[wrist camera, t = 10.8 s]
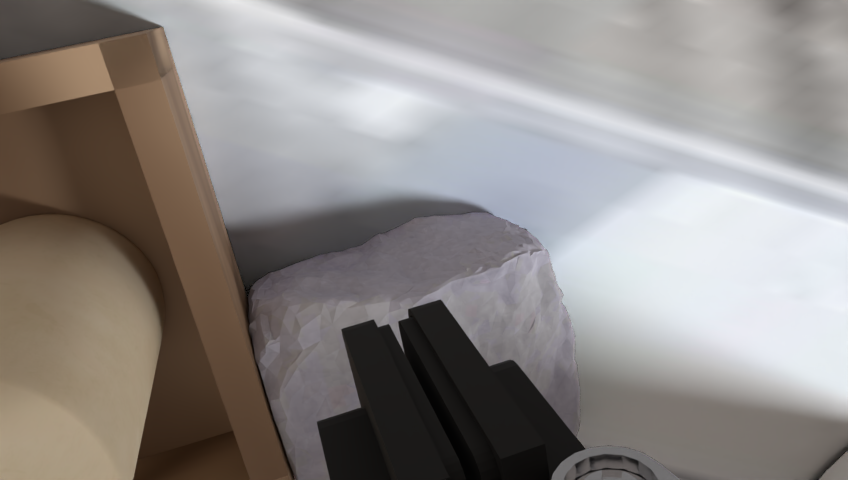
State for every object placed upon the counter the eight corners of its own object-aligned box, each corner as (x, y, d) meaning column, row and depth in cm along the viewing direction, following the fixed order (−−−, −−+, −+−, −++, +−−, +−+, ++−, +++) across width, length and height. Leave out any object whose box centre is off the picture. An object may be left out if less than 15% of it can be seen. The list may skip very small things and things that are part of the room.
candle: (205, 277, 20) (181, 513, 11) (101, 424, 21) (-4, 764, 11) (14, 170, 18) (-214, 354, 9) (-96, 338, 18) (-416, 674, 9)
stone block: (490, 172, 24) (209, 277, 21) (578, 206, 20) (246, 344, 17) (535, 438, 29) (313, 558, 26) (613, 509, 25) (361, 663, 22)
